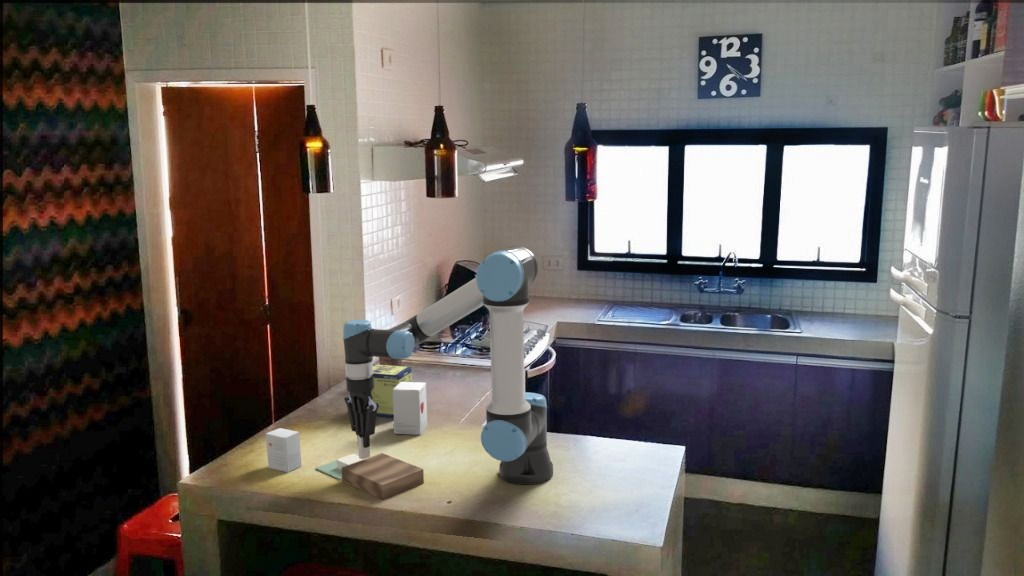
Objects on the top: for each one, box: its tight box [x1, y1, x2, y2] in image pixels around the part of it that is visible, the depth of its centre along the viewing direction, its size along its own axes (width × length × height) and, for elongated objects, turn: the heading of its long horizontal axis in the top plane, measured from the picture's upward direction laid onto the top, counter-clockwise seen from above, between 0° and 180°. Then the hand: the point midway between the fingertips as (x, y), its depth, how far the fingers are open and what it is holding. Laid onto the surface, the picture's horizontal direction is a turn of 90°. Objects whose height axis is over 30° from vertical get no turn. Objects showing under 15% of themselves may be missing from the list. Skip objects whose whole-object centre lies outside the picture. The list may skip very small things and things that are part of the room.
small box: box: [265, 427, 302, 473], centre depth 236 cm, size 8×6×10 cm
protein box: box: [371, 363, 413, 419], centre depth 282 cm, size 10×16×16 cm
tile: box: [336, 453, 364, 470], centre depth 234 cm, size 8×6×2 cm
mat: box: [315, 453, 368, 481], centre depth 236 cm, size 12×14×1 cm
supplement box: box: [393, 381, 428, 436], centre depth 265 cm, size 9×9×15 cm
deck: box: [341, 452, 425, 500], centre depth 225 cm, size 18×14×4 cm
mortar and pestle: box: [378, 357, 403, 366], centre depth 315 cm, size 12×9×20 cm
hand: (364, 457), depth 230 cm, fingers closed
